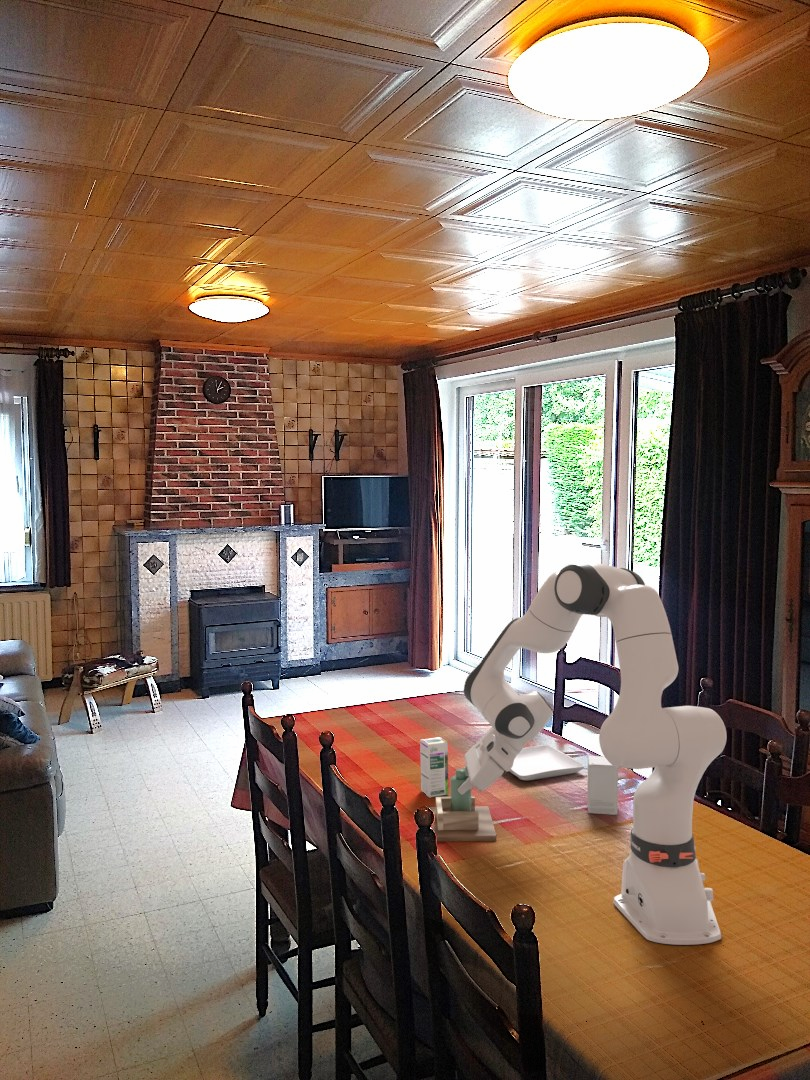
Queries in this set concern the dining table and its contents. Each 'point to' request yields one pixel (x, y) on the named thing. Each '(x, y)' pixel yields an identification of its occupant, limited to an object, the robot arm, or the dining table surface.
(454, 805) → the green bottle
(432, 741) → the syrup box
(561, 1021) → the dining table surface
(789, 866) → the dining table surface
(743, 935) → the dining table surface
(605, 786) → the supplement box
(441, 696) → the dining table surface
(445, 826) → the u rest
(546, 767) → the salad plate
